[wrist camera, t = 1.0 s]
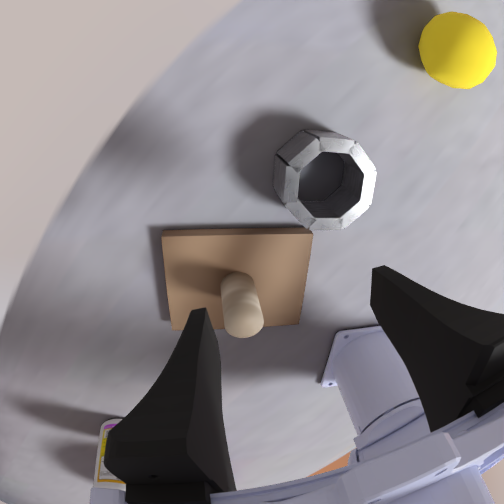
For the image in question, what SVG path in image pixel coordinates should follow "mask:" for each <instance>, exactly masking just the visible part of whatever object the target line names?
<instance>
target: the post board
mask: <svg viewBox="0 0 504 504" xmlns="http://www.w3.org/2000/svg"><path fill="white" fill-rule="evenodd" d="M161 239H162V250H163V260H164V269H165V278H166V287H167V295H168V303H169V311H170V318H171V325H172V330H183V329H184V327H185V324H186V322H187V319H188V317H189V314H190V312H191V310H194V309H199V308H204V307H206V309H207V312H208V315H209V318H210V321H211V323H212V326H213V329H226V331H227V332H228V333H229V334H230V335H232V336H234V337H238V338H247V337H251V336H253V335H255V334H257V333H258V332H259V331H260V330H261V329H262V327H268V326H282V325H295V324H299V320H300V314H301V309H302V303H303V297H304V291H305V285H306V279H307V272H308V266H309V259H310V253H311V246H312V239H313V233H312V231H311V230H309V229H308V228H307V229H306V228H234V229H189V230H163V232H162V236H161Z"/></svg>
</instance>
